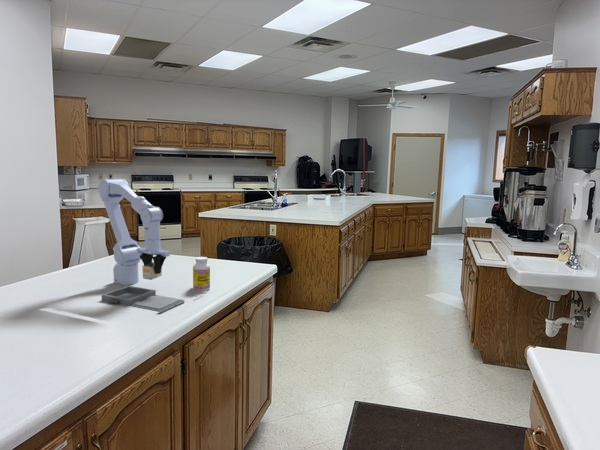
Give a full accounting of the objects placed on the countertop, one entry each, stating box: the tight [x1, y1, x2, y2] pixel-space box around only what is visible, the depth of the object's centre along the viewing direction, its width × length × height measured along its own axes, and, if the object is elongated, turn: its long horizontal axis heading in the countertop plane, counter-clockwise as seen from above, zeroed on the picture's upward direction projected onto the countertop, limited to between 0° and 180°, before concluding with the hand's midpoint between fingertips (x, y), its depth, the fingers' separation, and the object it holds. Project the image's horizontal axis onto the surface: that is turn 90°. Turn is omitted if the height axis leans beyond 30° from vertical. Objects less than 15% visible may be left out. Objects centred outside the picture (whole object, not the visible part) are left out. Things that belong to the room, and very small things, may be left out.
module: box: [141, 261, 163, 281], centre depth 170 cm, size 4×6×5 cm, turn 157°
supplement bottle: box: [192, 256, 211, 291], centre depth 175 cm, size 7×7×13 cm
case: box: [101, 285, 185, 315], centre depth 157 cm, size 26×14×3 cm, turn 67°
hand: (153, 272), depth 171 cm, fingers closed on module, 4 cm apart
